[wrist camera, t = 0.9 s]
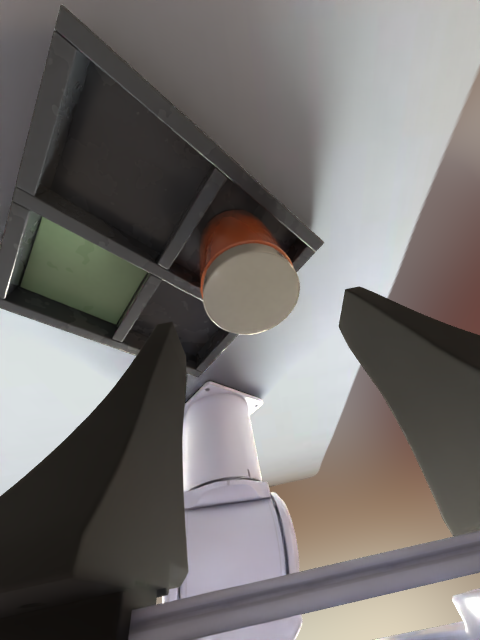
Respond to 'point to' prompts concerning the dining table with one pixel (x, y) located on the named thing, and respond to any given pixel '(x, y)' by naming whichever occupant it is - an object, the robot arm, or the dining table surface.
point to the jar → (245, 274)
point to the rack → (122, 206)
